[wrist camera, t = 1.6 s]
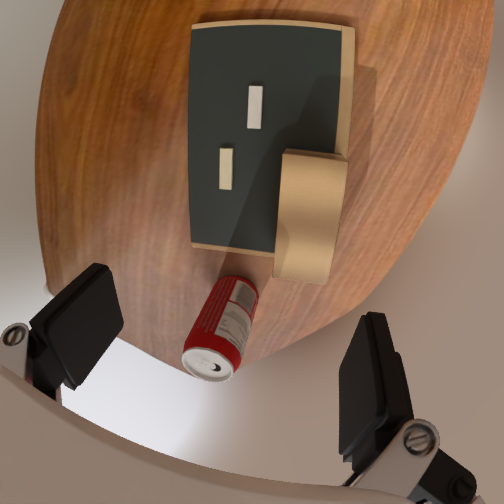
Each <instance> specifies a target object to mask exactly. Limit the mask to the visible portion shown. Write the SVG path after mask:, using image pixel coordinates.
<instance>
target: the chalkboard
mask: <svg viewBox="0 0 504 504" xmlns="http://www.w3.org/2000/svg"><path fill="white" fill-rule="evenodd" d="M354 56H355V28H353V27H348V26H341V25H335V24H328V23H319V22H309V21H296V20H271V19H256V20H231V21H218V22H208V23H199V24H192V33H191V48H190V66H189V93H188V178H189V207H190V228H191V242H192V243H191V244H192V247H196V248H203V249H211V250H219V251H226V252H234V253H241V254H249V255H257V256H264V257H272V258H274V253H275V242H276V231H277V219H278V207H279V195H280V182H281V168H282V154H283V153H284V151H285V149H286V148H287V147H293V148H302V149H311V150H319V151H326V152H333V153H340V154H342V155H343V156H344V157H345V158H346V159H347V151H348V142H349V132H350V122H351V110H352V97H353V81H354ZM249 86H263V99H262V120H261V129H254V128H247V121H248V98H249ZM220 148H233V178H232V189H231V190H228V189H219V180H220Z"/></svg>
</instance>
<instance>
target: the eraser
mask: <svg viewBox="0 0 504 504" xmlns="http://www.w3.org/2000/svg"><path fill="white" fill-rule="evenodd" d="M348 163H349V162H348V161H347V160H346V158H345V157H344V156H343V155H342V154H340V153H333V152H326V151H319V150H311V149H302V148H293V147H287V148H286V149H285V151H284V153H283V154H282V168H281V182H280V195H279V207H278V219H277V231H276V242H275V253H274V264H273V275H272V277H273V278H279V279H286V280H294V281H302V282H309V283H317V284H325V285H327V283H328V278H329V273H330V269H331V264H332V259H333V254H334V249H335V244H336V239H337V233H338V228H339V222H340V217H341V211H342V205H343V198H344V192H345V185H346V178H347V171H348Z"/></svg>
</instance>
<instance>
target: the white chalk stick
mask: <svg viewBox="0 0 504 504" xmlns="http://www.w3.org/2000/svg"><path fill="white" fill-rule="evenodd" d="M262 99H263V86H249V98H248V121H247V128H254V129H261V120H262Z"/></svg>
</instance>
